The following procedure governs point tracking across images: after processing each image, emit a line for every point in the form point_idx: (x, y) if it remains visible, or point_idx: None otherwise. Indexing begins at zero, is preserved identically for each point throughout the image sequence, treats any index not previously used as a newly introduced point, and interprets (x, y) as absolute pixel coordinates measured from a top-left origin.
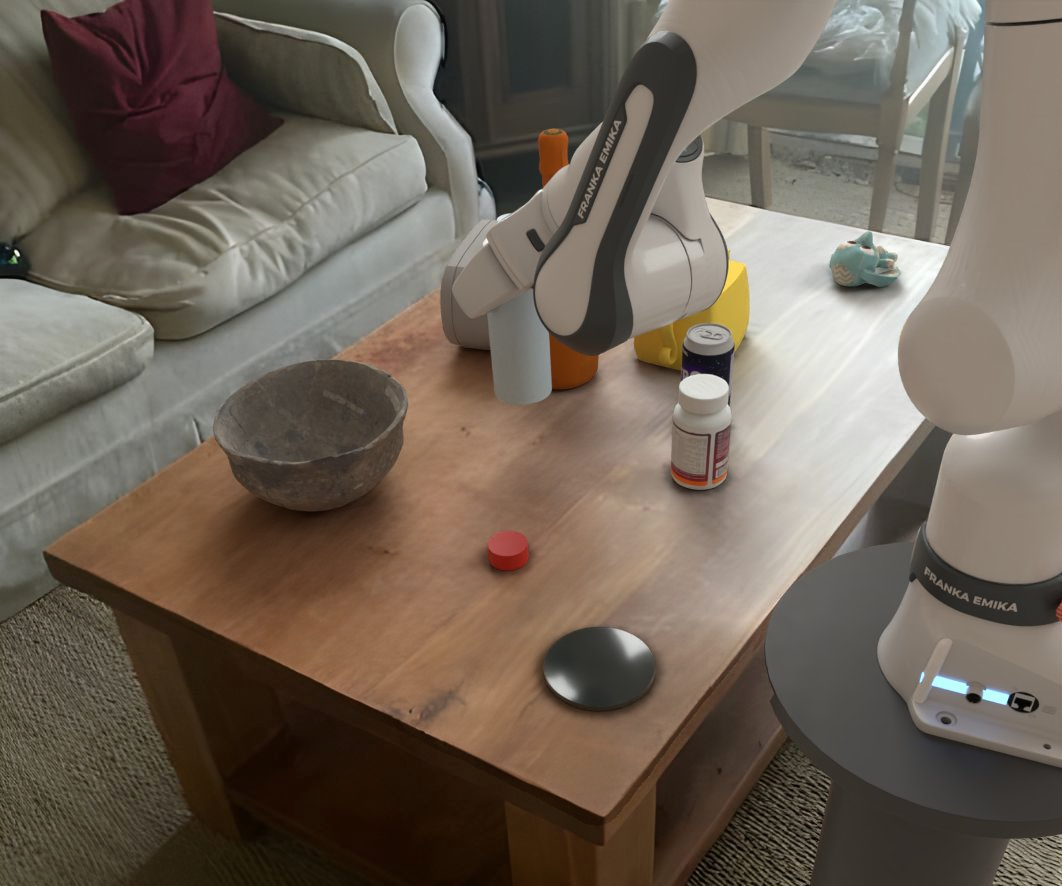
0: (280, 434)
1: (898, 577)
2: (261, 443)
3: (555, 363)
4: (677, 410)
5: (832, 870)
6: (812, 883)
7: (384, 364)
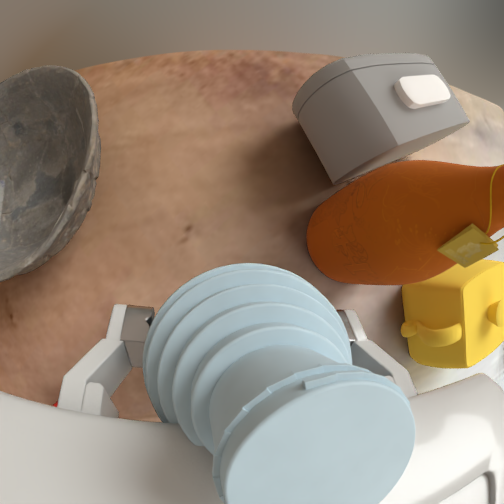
0: (42, 119)
1: None
2: (21, 123)
3: (326, 262)
4: None
5: None
6: None
7: (235, 79)
